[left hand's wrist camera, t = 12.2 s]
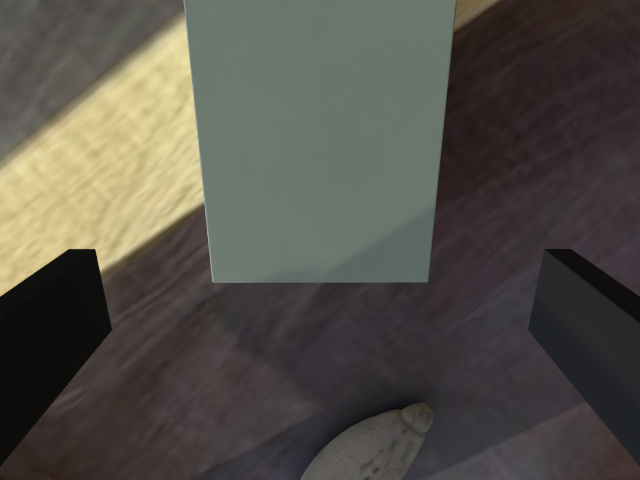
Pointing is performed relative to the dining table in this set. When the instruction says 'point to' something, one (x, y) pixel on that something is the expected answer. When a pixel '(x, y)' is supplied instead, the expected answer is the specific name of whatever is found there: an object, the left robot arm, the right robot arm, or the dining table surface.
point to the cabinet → (320, 135)
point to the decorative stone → (374, 447)
